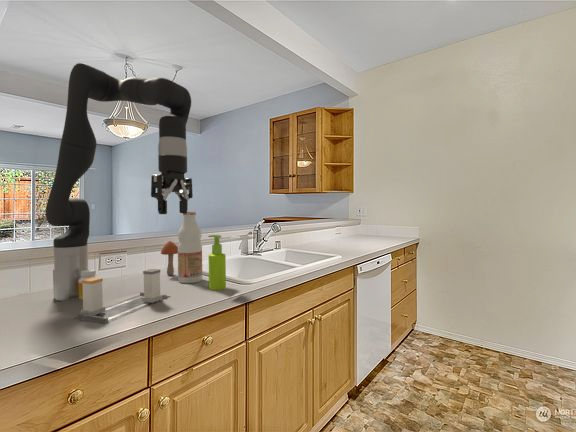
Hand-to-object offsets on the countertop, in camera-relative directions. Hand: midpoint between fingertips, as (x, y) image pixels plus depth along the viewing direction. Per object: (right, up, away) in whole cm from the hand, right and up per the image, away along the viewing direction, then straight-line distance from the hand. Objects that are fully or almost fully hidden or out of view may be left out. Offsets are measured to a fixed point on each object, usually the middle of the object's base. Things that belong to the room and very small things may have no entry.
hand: (173, 213), depth 86 cm
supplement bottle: (-32, -28, +13) cm, 45 cm away
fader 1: (-21, -27, -3) cm, 34 cm away
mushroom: (-20, -27, +49) cm, 59 cm away
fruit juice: (-7, -27, +38) cm, 47 cm away
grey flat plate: (-15, -28, +4) cm, 32 cm away
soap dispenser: (+7, -28, +24) cm, 37 cm away
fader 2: (-9, -27, +8) cm, 30 cm away
